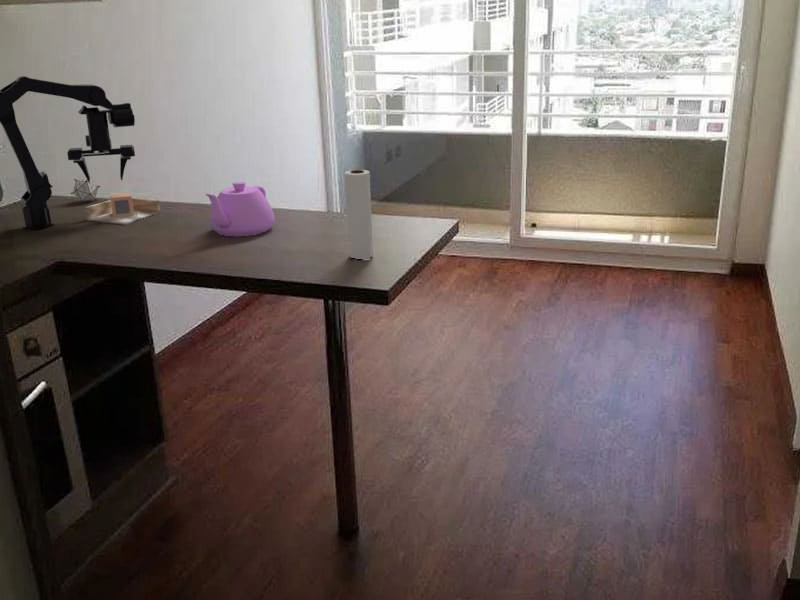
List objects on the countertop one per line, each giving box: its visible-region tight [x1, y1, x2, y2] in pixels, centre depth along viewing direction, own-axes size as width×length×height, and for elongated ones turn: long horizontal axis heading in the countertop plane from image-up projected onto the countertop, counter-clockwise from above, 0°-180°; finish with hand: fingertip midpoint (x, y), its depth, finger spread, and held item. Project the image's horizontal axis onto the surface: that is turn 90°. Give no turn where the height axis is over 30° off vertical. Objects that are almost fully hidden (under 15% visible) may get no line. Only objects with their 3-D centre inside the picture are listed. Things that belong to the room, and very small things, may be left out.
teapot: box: [205, 181, 276, 237], centre depth 222 cm, size 25×18×14 cm
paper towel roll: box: [344, 169, 374, 259], centre depth 193 cm, size 7×6×21 cm
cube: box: [109, 191, 134, 218], centre depth 242 cm, size 6×6×6 cm
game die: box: [70, 178, 101, 204], centre depth 263 cm, size 9×8×10 cm
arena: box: [84, 197, 161, 226], centre depth 243 cm, size 15×15×4 cm
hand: (105, 181), depth 241 cm, fingers open, 9 cm apart
